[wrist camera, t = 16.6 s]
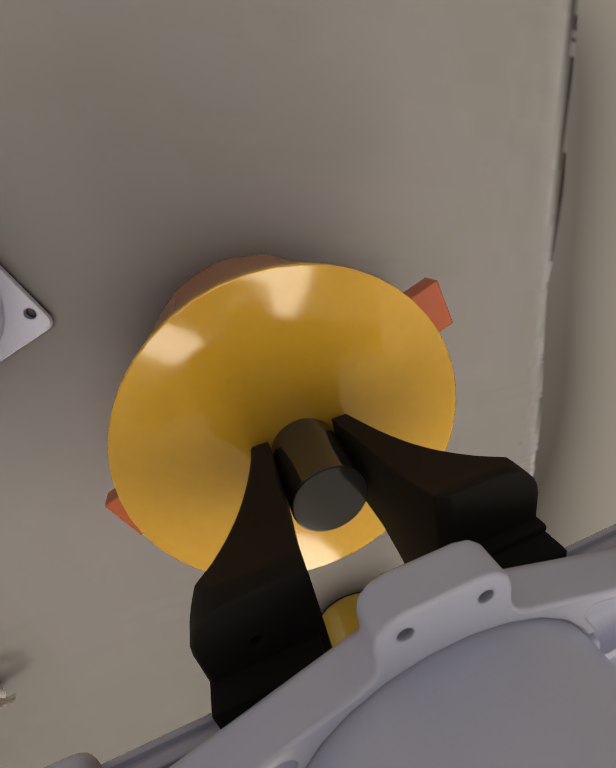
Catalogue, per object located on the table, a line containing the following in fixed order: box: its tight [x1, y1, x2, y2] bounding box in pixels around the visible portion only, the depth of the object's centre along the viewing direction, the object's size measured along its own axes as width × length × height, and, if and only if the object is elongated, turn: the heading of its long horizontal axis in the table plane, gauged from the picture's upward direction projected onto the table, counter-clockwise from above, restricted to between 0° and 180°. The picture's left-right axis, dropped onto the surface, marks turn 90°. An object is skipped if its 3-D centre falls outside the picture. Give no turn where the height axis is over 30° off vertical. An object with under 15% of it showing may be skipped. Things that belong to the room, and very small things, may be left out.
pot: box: [105, 254, 453, 534], centre depth 20 cm, size 13×18×7 cm
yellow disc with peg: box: [108, 262, 456, 571], centre depth 14 cm, size 14×14×4 cm
